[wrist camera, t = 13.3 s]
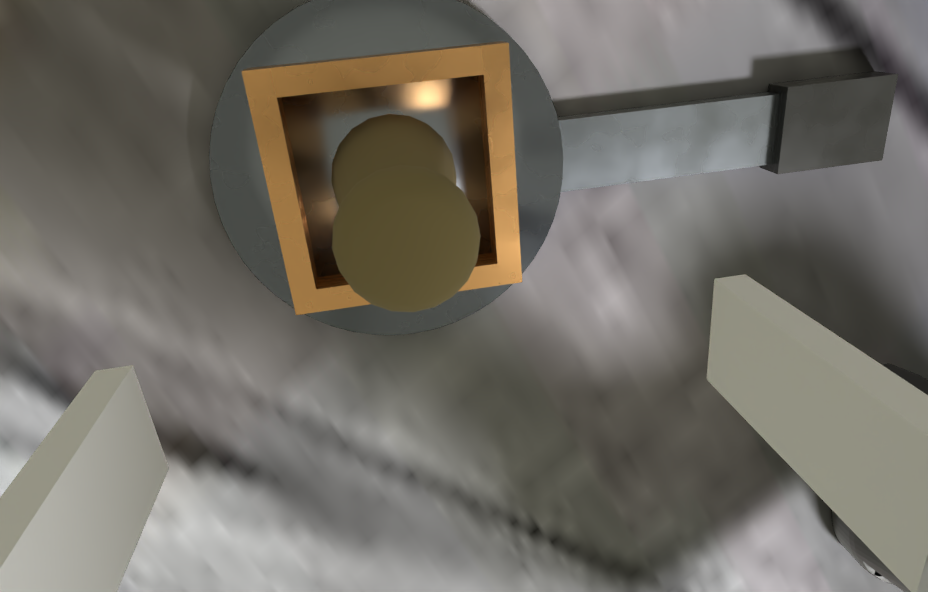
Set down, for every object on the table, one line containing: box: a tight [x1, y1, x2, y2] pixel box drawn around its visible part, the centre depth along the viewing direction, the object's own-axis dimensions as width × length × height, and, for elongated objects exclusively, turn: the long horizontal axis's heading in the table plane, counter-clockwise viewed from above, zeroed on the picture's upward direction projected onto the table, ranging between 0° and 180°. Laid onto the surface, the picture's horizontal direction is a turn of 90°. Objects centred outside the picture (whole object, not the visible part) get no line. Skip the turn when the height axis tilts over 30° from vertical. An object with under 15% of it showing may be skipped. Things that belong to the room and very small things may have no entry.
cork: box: [331, 114, 481, 312], centre depth 26 cm, size 6×6×11 cm
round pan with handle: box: [209, 0, 898, 335], centre depth 32 cm, size 34×17×3 cm, turn 95°
